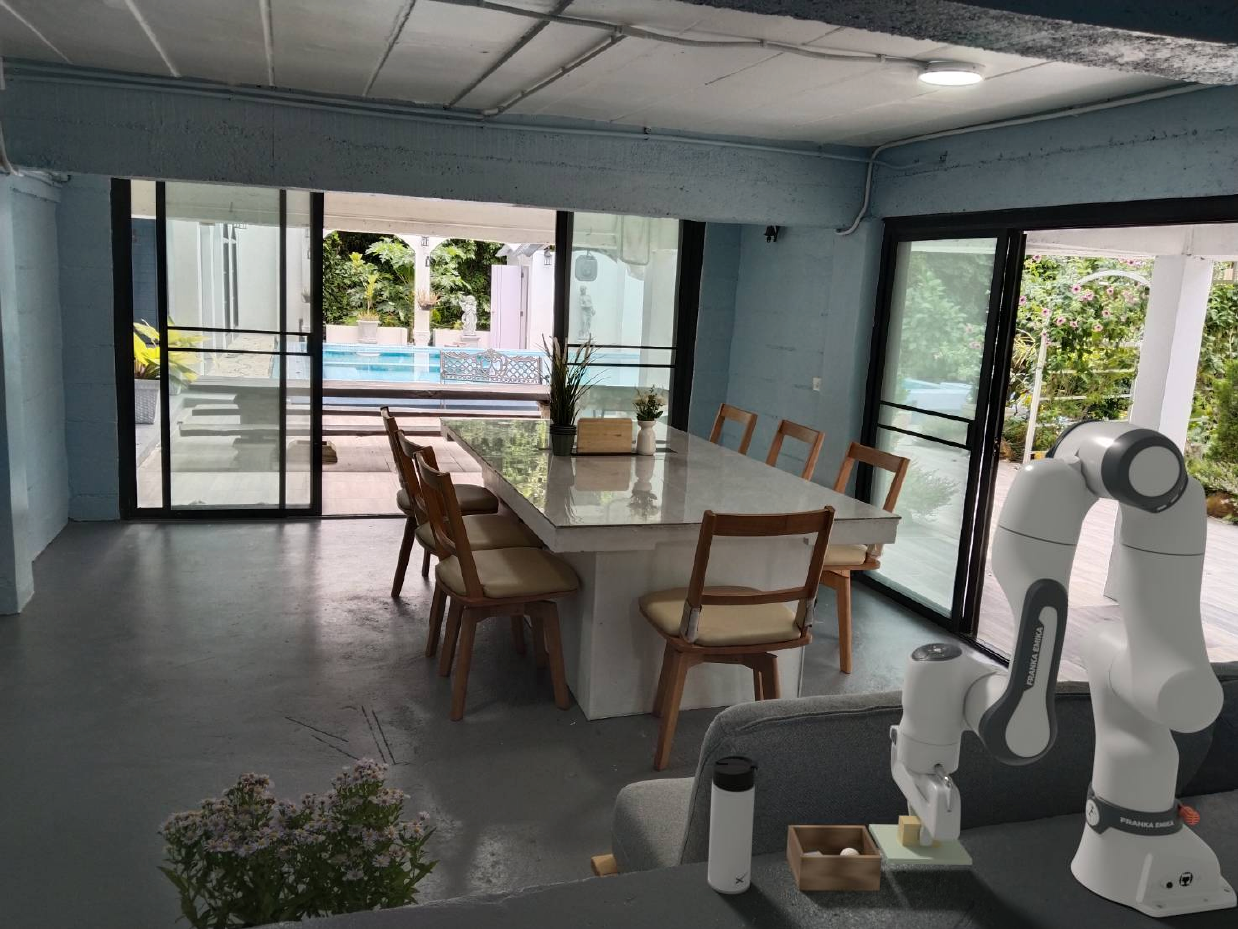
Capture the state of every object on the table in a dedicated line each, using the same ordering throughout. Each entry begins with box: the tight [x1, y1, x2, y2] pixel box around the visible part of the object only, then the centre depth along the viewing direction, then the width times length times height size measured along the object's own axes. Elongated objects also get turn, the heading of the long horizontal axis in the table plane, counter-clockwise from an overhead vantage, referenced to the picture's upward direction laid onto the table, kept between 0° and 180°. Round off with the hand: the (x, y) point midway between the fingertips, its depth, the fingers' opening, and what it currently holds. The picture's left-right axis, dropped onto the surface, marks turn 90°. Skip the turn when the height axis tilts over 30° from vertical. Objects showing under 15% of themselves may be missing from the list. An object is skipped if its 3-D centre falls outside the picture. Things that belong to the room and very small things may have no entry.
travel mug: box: [707, 755, 759, 895], centre depth 144 cm, size 6×7×20 cm
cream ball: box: [840, 848, 859, 855], centre depth 149 cm, size 3×3×3 cm
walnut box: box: [786, 824, 883, 891], centre depth 148 cm, size 12×9×6 cm
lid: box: [868, 815, 973, 866], centre depth 148 cm, size 13×10×5 cm
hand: (920, 836), depth 148 cm, fingers closed on lid, 2 cm apart
